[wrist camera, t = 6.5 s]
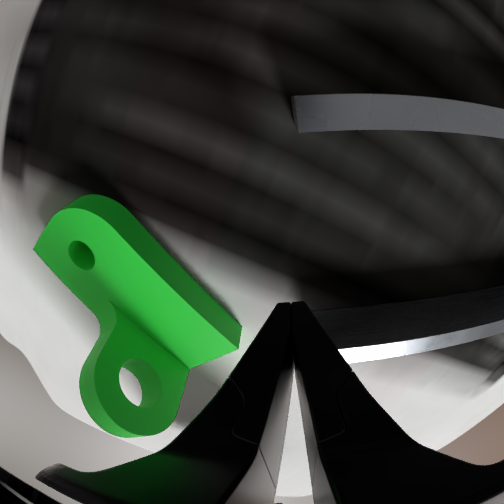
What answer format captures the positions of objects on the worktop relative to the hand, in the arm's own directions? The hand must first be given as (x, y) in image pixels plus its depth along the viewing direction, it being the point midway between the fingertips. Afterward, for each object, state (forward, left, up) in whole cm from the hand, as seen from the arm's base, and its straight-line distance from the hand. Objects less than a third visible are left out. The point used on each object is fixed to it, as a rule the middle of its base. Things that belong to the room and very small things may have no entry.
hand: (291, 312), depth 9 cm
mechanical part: (-2, +9, -6) cm, 11 cm away
